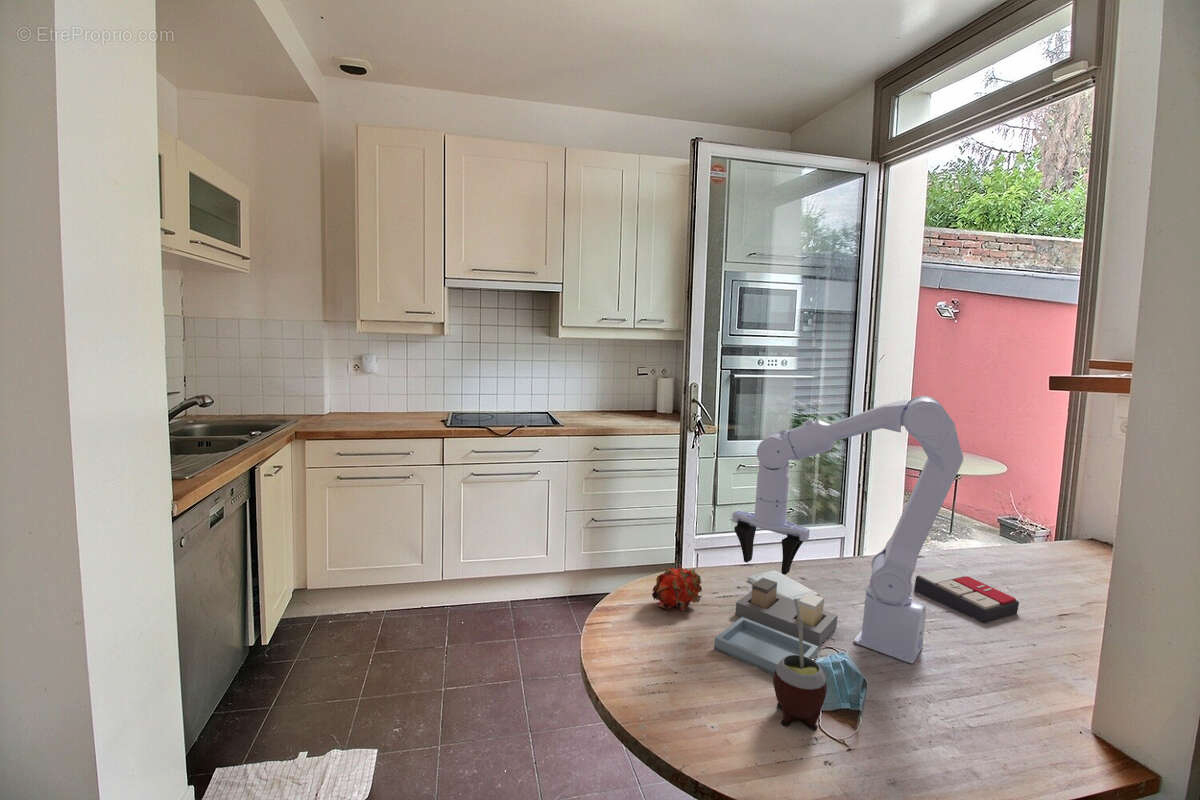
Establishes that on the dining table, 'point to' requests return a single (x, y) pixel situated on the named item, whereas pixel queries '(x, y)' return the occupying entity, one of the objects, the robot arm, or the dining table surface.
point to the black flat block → (966, 595)
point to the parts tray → (760, 644)
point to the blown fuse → (764, 593)
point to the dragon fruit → (677, 588)
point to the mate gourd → (799, 685)
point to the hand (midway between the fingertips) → (766, 566)
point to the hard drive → (784, 585)
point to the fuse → (811, 609)
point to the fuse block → (786, 619)
